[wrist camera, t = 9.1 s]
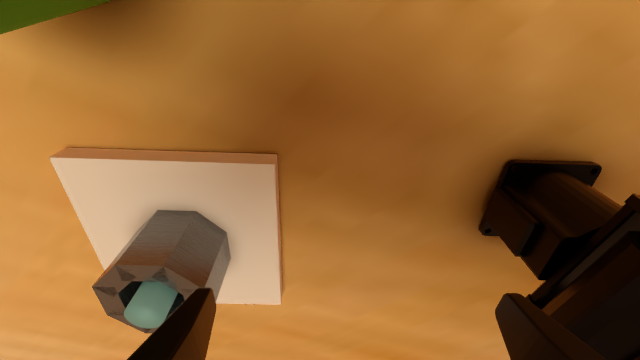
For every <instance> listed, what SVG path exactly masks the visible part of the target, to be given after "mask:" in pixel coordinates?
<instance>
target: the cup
mask: <svg viewBox="0 0 640 360" xmlns="http://www.w3.org/2000/svg"><path fill="white" fill-rule="evenodd" d="M109 1H111V0H0V34H3V33H6V32H9V31H13V30H16V29H19V28H23V27H26V26H30V25H33V24H36V23H40V22H43V21H46V20H50V19H53V18H56V17H60V16H63V15H67V14H70V13H73V12H77V11H80V10H83V9H87V8H90V7H93V6H97V5H100V4H104V3H107V2H109Z"/></svg>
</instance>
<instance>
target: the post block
mask: <svg viewBox="0 0 640 360" xmlns="http://www.w3.org/2000/svg"><path fill="white" fill-rule="evenodd" d="M49 159H50V161H51V163H52V165H53V167H54V169H55V171H56V173H57V175H58V177H59V179H60V181H61V183H62V185H63V187H64V189H65V191H66V193H67V195H68V197H69V199H70V201H71V203H72V205H73V207H74V209H75V211H76V213H77V215H78V217H79V219H80V222H81V224H82V226H83V228H84V230H85V232H86V234H87V236H88V238H89V240H90V242H91V244H92V246H93V248H94V250H95V252H96V254H97V256H98V258H99V260H100V262H101V264H102V266H103V268H104V270H106V269H107V268H108V266H109V265H110V264H111V263H112V261H113V260H114V259H115V258H116V257H117V255H118V254H119V253H120V252H121V250H122V249H123V248H124V247H125V245H126V244H127V243H128V242H129V240H130V239H131V238H132V237H133V235H134V234H135V233H136V232H137V231H138V229H139V228H140V227H141V226H142V225H143V224H144V223H145V222H146V221H147V220H148V219H149V218H150V217H151V216H152V215H153V214H154V213H155V212H156V211H157V210H178V211H197V212H199V213H200V214H201V215H203V216H204V217H206V218H207V219H209V220H210V221H211V222H213V223H214V224H216V225H217V226H218V227H220V228H221V229H223V230H224V231H226V232H227V237H228V243H229V250H230V256H231V259H230V262H229V265H228V268H227V271H226V274H225V277H224V280H223V283H222V285H221V288H220V291H219V294H218V297H217V300H216V303H220V304H275V305H281V301H282V293H283V283H282V258H281V233H280V208H279V183H278V158H277V154H255V153H224V152H193V151H162V150H132V149H101V148H70V147H67V148H65V149H63V150H61V151H60V152H58V153H56V154H54V155H52V156H51V157H49ZM177 294H178V292H177V291H175V290H173V289H172V288H170V287H168V286H166V285H164V284H163V283H161V282H147V281H143V282H142V284H141V285H140V287H139V288H138V290H137V292H136V293H135V295H134V296H133V298H132V299H131V301H130V303H129V304H128V306H127V307H126V309H125V311H124V317H125V318H126V320H127V321H129V322H130V323H131V324H133V325H135V326H138V327H141V328H149V329H151V328H157V327H159V326H160V325H161V324H162V323H163V322H164V320H165V318H166V316H167V314H168V312H169V310H170V308H171V306H172V304H173V302H174V300H175V298H176V296H177Z"/></svg>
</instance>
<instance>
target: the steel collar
mask: <svg viewBox="0 0 640 360" xmlns="http://www.w3.org/2000/svg"><path fill="white" fill-rule="evenodd" d="M230 259H231V256H230V250H229V243H228V237H227V232H226V231H224V230H223V229H221V228H220V227H218V226H217V225H216V224H214V223H213V222H211V221H210V220H209V219H207V218H206V217H204V216H203V215H201V214H200V213H199V212H197V211H178V210H157V211H156V212H155V213H154V214H153V215H152V216H151V217H150V218H149V219H148V220H147V221H146V222H145V223H144V224H143V225H142V226H141V227H140V228H139V229H138V231H137V232H136V233H135V234H134V235H133V237H132V238H131V239H130V240H129V242H128V243H127V244H126V245H125V247H124V248H123V249H122V250H121V252H120V253H119V254H118V255H117V257H116V258H115V259H114V260H113V261H112V263H111V264H110V265H109V266H108V268H107V269H106V270H105V271H104V273H103V274H102V275H101V276H100V278H99V279H98V280H97V281H96V283H95V284H94V285H93V286H92V288H93V290H94V291H95V293H96V295H97V297H98V299H99V301H100V303H101V304H102V306H103V308H104V310H105V312H106V314H107V315H108V316H110V317H112V318H114V319H117V320H119V321H121V322H123V323H125V324H127V325H129V326H131V327H134V328H136V329H138V330H140V331H142V332H144V333H153V332H154V331H155V330H156V329H157V328H158V327H157V328H151V329H149V328H141V327H138V326H135V325H133V324H131V323H130V322H129V321H127V320H126V318H125V317H124V311H125V309H126V307H127V306H128V304H129V303H130V301H131V299H132V298H133V296H134V295H135V293H136V292H137V290H138V288H139V287H140V285H141V284H142V282H143V281H147V282H161V283H163V284H164V285H166V286H168V287H170V288H172V289H173V290H175V291H177V292H178V294H177V296H176V298H175V300H174V302H173V304H172V306H171V308H170V310H169V312H168V314H167V316H166V318H165V320H166V319H167V318H168V317H169V316H170V315H171V314H172V313H173V312H174V311H175V310H176V309H177V308H178V307H179V306H180V305H181V304H182V303H183V302H184V301H185V300H186V299H187V298H188V297H189V296H190V295H191V294H192V293H193V292H194V291H195V290H196V289H197V288H199V287H210V288H212V290H213V293H214V297H215V302H216V300H217V297H218V294H219V291H220V288H221V285H222V283H223V280H224V277H225V274H226V271H227V268H228V265H229V262H230ZM165 320H164V321H165Z"/></svg>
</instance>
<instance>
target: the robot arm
mask: <svg viewBox="0 0 640 360" xmlns="http://www.w3.org/2000/svg"><path fill="white" fill-rule="evenodd" d="M514 166H516V167H515V168H514V169H512V168H513V167H514ZM601 170H602V167H601V166H600V165H598V164H596V163H593V162H563V161H533V160H511V161H509V162H508V163H507V164H506V165H505V167H504V169H503V172H502V174H501V177H500V179H499V181H498V184H497V186H496V188H495V190H494V193H493V195H492V198H491V200H490V202H489V205H488V207H487V210H486V212H485V214H484V217H483V220H482V222H481V224H480V227H479V231H480V232H481V233H482V235H484V236H500V238H501V239H502V240H503V241H504V243H505V244H506V245H507V246H508V248H509V249H510V250H511V251H512V253H513V254H514V255H515V256H519V257H521V259H522V260H523V261H524V262H525V263H526V265H527V266H528V267H529V268H530V270H531V271H532V272H533V273H534V275H535V276H536V277H537V278H538V279H539V280H546V281H545V282H544V283H543V284H542V285H541V286H540V287H539V288H537V289H536V290H535V291H534V292H533V293H532V294H529V295H528V296H527V297H526V298H525V297H524V296H522V295H520V294H517V293H506V294H504V295H503V297H502V298H501V300H500V302H499V304H498V306H497V307H496V310H495V315H496V319H497V322H498V325H499V328H500V331H501V333H502V336H503V339H504V342H505V345H506V347H507V350H508V353H509V356H510V359H511V360H640V195H636V194H632V195H631V196H630V197H629V198H628V199H627V200H626V201H625V203H626V204H625V205H624V206H623V207H622V206H620V205H619V204H617V203H616V202H614V201H613V200H611V199H610V198H608V197H607V196H605V195H603V194H602V193H600V192H599V191H597V190H596V189H594V188H593V187H592V185H593V184H594V182H595V180H596V179H597V177H598V176H599V174H600V172H601ZM486 229H487V230H486ZM215 313H216V302H215V297H214V293H213V290H212V288H210V287H199V288H197V289H196V290H195V291H194V292H193V293H192V294H191V295H190V296H189V297H188V298H187V299H186V300H185V301H184V302H183V303H182V304H181V305H180V306H179V307H178V308H177V309H176V310H175V311H174V312H173V313H172V314H171V315H170V316H169V317H168V318H167V319H166V320H165V321H164V322H163V323H162V324H161V325H160V326H159V327H158V328H157V329H156V330H155V331H154V332H153V333H152V334H151V335H150V336H149V337H148V339H147V340H146V341H145V342H144V343H143V344H142V345H141V346H140V347H139V348H138V349H137V350H136V351H135V352H134V353H133V354H132V355H131V356H130V357H129V358H128V359H127V360H205V358H206V353H207V349H208V344H209V340H210V335H211V331H212V326H213V322H214V317H215Z"/></svg>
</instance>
